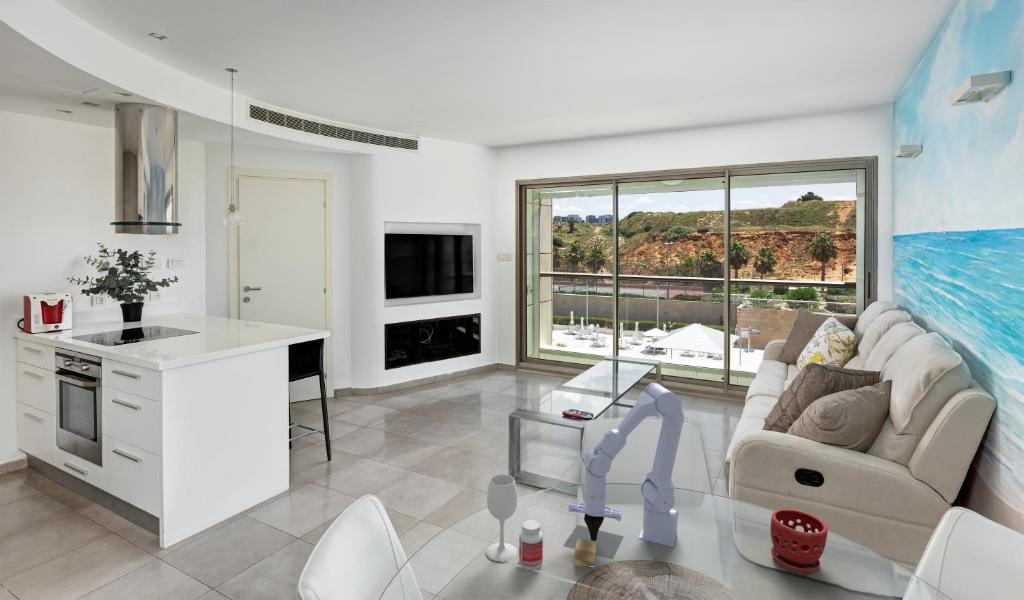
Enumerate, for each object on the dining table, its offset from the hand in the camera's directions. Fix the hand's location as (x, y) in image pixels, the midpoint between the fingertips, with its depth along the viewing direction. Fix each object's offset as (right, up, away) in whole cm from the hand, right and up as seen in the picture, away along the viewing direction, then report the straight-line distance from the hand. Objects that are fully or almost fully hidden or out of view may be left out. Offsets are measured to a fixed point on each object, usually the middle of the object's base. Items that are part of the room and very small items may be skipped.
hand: (593, 538), depth 152 cm
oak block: (-4, -2, -9) cm, 10 cm away
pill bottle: (-18, -2, -10) cm, 21 cm away
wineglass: (-26, -2, -5) cm, 26 cm away
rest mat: (0, -1, 0) cm, 1 cm away
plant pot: (+53, -3, -8) cm, 53 cm away
